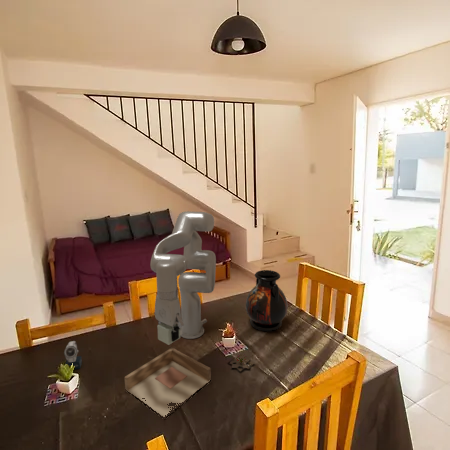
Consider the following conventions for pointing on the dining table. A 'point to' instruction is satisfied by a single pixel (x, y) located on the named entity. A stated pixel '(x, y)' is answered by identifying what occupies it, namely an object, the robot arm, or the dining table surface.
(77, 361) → the watch
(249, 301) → the amphora vase
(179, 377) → the tray
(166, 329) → the cube
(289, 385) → the dining table surface
